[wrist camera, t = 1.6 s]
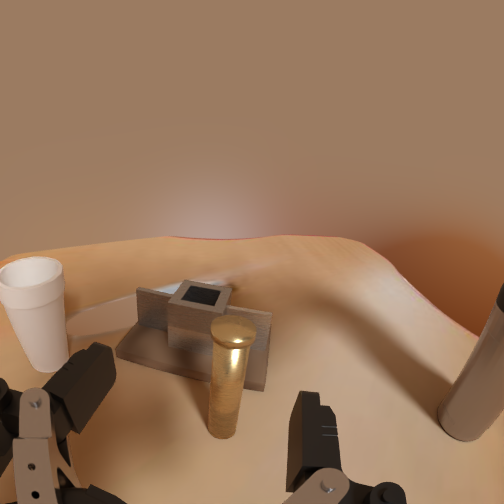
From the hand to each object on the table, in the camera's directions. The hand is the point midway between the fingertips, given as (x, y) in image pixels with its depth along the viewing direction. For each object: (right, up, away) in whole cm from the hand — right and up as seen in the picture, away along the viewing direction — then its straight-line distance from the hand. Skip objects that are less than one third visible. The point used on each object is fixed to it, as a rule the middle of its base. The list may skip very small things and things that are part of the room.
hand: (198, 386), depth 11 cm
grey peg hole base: (-6, -8, +30) cm, 31 cm away
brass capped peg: (-1, -14, +16) cm, 21 cm away
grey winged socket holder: (-5, -7, +29) cm, 30 cm away
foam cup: (-26, -9, +20) cm, 34 cm away
